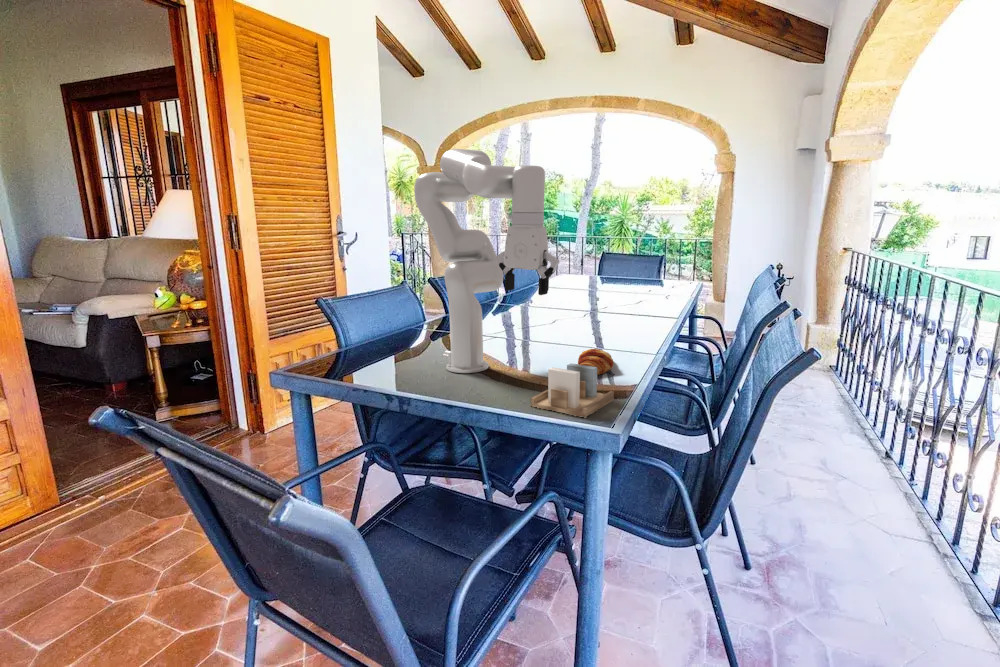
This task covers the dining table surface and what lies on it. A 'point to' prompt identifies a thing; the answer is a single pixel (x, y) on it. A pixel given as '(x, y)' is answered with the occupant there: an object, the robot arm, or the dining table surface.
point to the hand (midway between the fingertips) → (526, 292)
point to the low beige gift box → (565, 384)
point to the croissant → (596, 360)
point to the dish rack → (588, 395)
